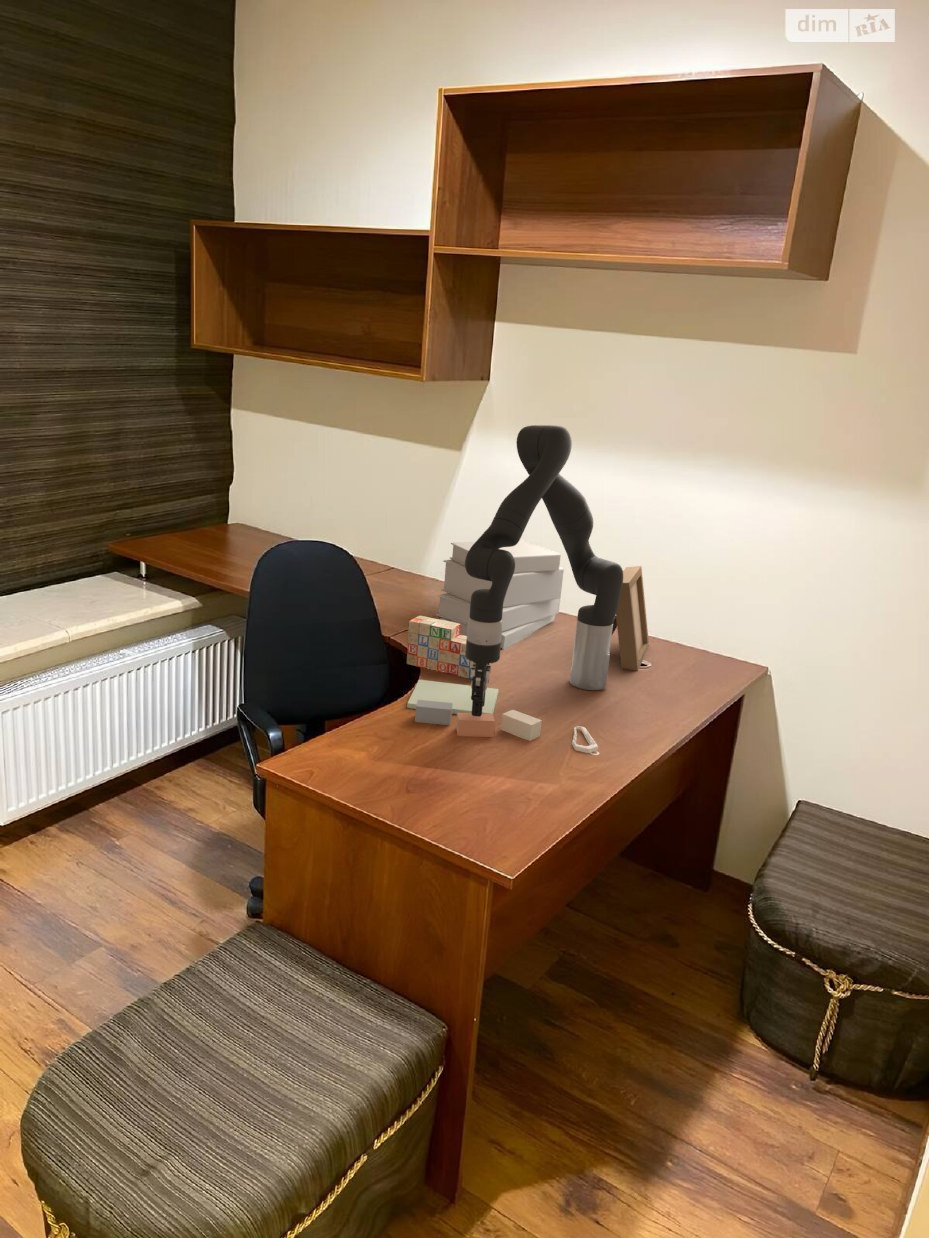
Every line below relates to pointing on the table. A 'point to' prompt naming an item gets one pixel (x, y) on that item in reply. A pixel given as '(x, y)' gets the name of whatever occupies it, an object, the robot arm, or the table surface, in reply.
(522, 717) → the cream brick
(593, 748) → the white triangle frame
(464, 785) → the table surface
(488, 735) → the terracotta brick
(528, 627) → the book stack
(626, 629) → the photo frame
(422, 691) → the sage baseplate
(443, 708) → the slate brick
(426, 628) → the stack of blocks
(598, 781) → the table surface
